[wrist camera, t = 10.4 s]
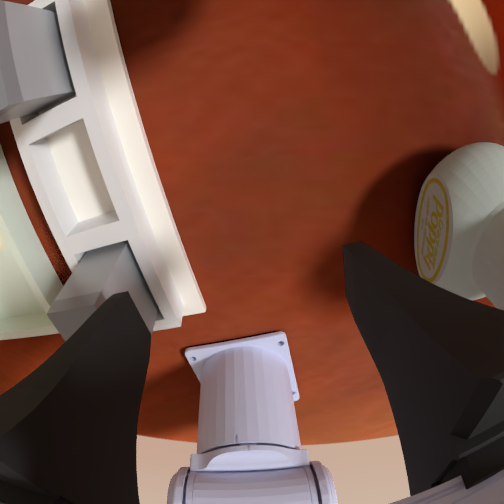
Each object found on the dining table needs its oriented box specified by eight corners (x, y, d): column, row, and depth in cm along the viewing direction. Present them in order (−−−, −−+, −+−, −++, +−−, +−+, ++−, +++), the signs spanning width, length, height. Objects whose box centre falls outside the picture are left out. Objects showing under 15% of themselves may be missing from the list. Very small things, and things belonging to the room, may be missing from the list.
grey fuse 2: (161, 296, 21) (141, 377, 15) (123, 303, 21) (95, 381, 15) (133, 231, 19) (94, 304, 13) (93, 242, 19) (46, 313, 13)
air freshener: (413, 130, 17) (531, 188, 8) (502, 135, 17) (606, 187, 8) (401, 278, 22) (464, 380, 14) (480, 263, 22) (549, 341, 14)
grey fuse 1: (84, 89, 14) (9, 104, 8) (43, 110, 14) (-36, 137, 8) (66, 15, 12) (-10, -2, 6) (26, 38, 12) (-55, 39, 6)
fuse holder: (206, 306, 23) (203, 332, 20) (109, 323, 23) (100, 346, 21) (104, -28, 11) (86, -41, 9) (-1, 33, 12) (-26, 33, 9)
